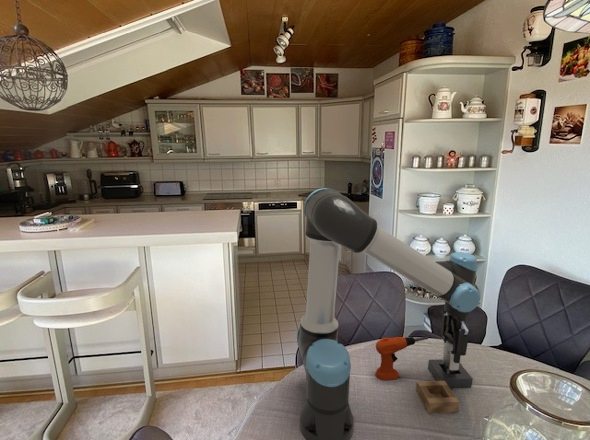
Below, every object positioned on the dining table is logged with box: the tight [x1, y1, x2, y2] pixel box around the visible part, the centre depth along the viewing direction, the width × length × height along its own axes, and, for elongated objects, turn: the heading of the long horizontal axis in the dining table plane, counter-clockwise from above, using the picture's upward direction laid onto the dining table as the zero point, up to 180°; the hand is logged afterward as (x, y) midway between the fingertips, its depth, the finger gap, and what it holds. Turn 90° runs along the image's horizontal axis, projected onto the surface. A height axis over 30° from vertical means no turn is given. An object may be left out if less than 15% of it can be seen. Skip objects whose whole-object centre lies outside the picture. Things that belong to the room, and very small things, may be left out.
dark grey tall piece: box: [441, 332, 456, 374], centre depth 112 cm, size 7×5×15 cm, turn 93°
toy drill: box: [375, 336, 429, 381], centre depth 114 cm, size 5×19×15 cm, turn 97°
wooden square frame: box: [415, 380, 460, 414], centre depth 104 cm, size 9×9×4 cm
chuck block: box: [427, 358, 474, 390], centre depth 114 cm, size 10×10×4 cm
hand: (450, 364), depth 113 cm, fingers closed on dark grey tall piece, 4 cm apart
